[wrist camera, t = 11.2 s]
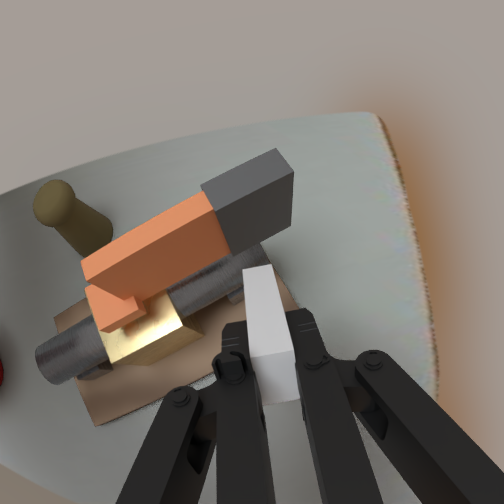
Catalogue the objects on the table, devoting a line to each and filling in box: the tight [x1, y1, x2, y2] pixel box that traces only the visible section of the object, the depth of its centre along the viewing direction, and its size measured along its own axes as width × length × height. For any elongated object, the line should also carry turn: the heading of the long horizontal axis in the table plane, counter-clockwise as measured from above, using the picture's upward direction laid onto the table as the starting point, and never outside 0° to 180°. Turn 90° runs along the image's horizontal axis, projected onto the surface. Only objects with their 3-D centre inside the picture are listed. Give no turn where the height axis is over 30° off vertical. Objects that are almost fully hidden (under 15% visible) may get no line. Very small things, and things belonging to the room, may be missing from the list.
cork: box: [33, 180, 113, 257], centre depth 33 cm, size 6×6×11 cm
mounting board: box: [54, 257, 299, 426], centre depth 33 cm, size 14×26×2 cm, turn 119°
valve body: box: [35, 243, 270, 385], centre depth 29 cm, size 7×24×8 cm, turn 119°
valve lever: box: [81, 148, 294, 334], centre depth 21 cm, size 16×4×8 cm, turn 119°
